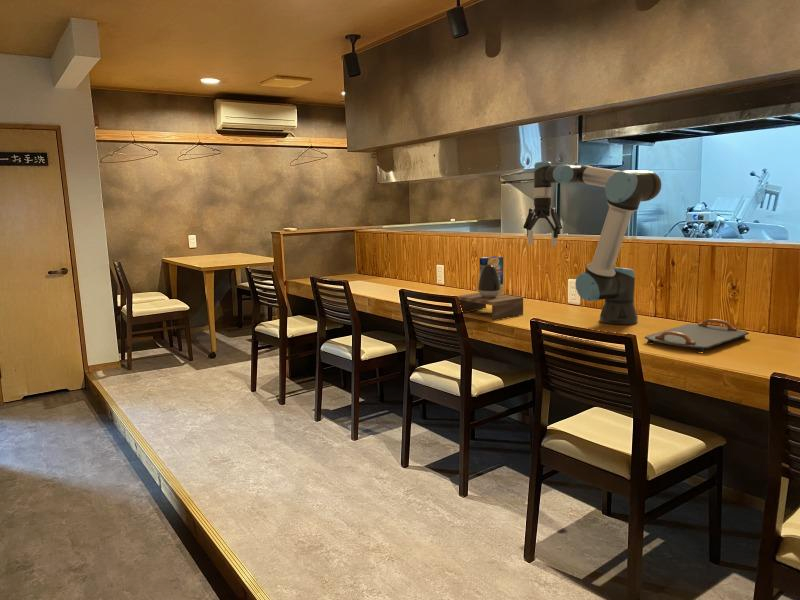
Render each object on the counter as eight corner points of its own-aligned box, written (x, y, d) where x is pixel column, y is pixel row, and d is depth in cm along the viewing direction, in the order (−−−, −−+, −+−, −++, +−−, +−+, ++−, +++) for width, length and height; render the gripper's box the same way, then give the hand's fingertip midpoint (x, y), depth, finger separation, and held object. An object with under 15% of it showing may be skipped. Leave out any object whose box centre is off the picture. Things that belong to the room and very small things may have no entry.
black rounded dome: (499, 295, 284) (499, 262, 282) (501, 298, 274) (500, 265, 271) (477, 295, 285) (477, 263, 283) (478, 298, 275) (478, 265, 272)
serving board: (691, 329, 239) (692, 314, 238) (754, 338, 221) (755, 322, 220) (637, 345, 216) (638, 328, 215) (702, 357, 198) (703, 339, 197)
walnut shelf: (523, 314, 276) (523, 297, 274) (495, 320, 265) (495, 302, 264) (483, 307, 296) (483, 291, 295) (455, 312, 286) (455, 296, 285)
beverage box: (479, 298, 326) (479, 257, 322) (494, 296, 332) (494, 256, 328) (488, 299, 320) (487, 258, 317) (503, 297, 326) (503, 257, 323)
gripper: (570, 196, 262) (569, 245, 266) (526, 197, 282) (526, 243, 286) (559, 196, 258) (558, 246, 261) (515, 198, 278) (515, 244, 281)
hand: (542, 244), depth 274 cm, fingers open, 13 cm apart
